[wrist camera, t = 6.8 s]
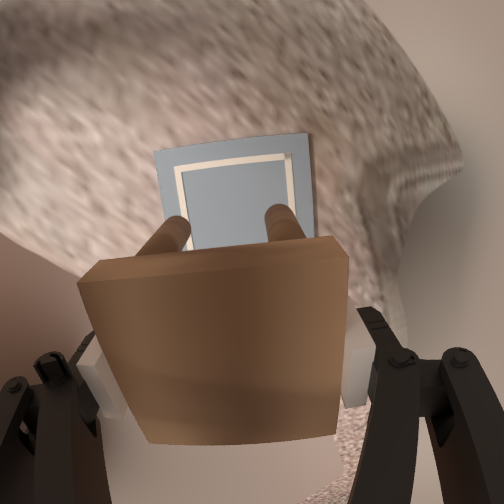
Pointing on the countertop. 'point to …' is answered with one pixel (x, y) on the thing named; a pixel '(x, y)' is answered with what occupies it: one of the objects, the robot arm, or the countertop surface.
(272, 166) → the mat
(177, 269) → the stool
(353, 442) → the countertop surface
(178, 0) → the countertop surface
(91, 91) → the countertop surface
